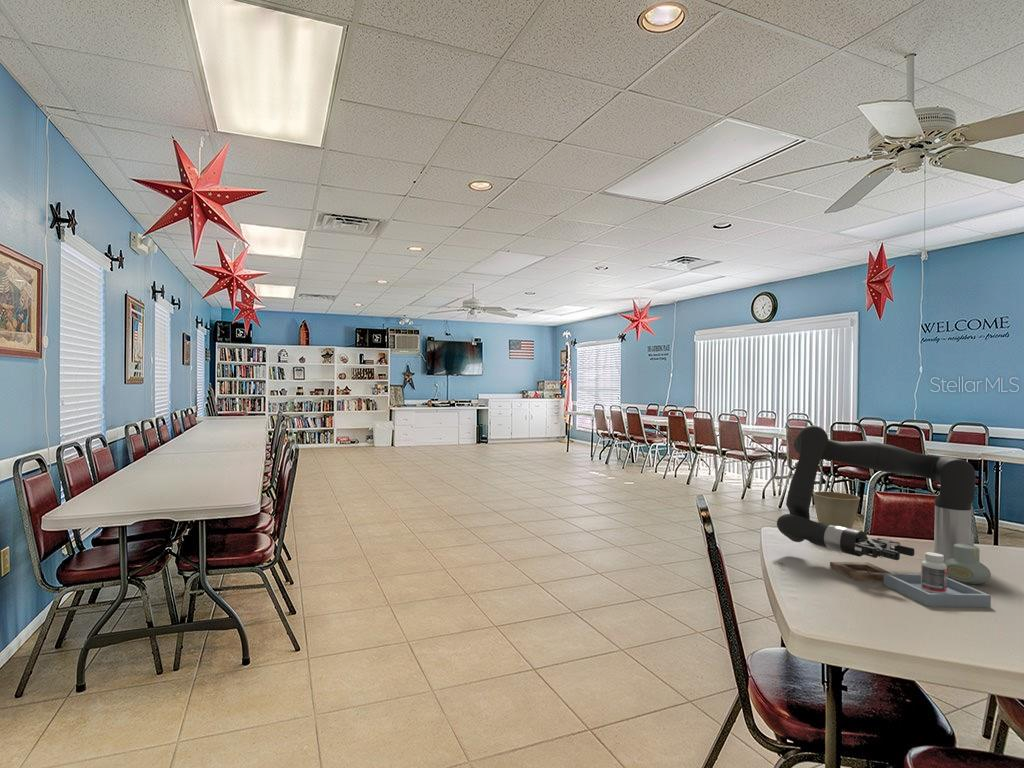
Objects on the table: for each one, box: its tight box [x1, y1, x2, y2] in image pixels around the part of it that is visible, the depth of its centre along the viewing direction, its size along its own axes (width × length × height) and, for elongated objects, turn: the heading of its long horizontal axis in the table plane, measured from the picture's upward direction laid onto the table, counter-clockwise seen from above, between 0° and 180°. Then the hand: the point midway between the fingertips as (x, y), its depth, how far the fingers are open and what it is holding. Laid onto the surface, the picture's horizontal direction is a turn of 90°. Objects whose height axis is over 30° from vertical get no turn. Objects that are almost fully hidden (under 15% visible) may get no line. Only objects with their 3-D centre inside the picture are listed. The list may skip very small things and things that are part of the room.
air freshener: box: [943, 544, 992, 585], centre depth 159 cm, size 11×8×10 cm
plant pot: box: [812, 490, 861, 529], centre depth 204 cm, size 15×15×16 cm
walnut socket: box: [829, 561, 891, 582], centre depth 164 cm, size 12×12×2 cm
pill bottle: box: [920, 551, 948, 593], centre depth 147 cm, size 5×5×10 cm
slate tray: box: [883, 572, 992, 608], centre depth 147 cm, size 16×16×3 cm
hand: (906, 554), depth 153 cm, fingers open, 8 cm apart
